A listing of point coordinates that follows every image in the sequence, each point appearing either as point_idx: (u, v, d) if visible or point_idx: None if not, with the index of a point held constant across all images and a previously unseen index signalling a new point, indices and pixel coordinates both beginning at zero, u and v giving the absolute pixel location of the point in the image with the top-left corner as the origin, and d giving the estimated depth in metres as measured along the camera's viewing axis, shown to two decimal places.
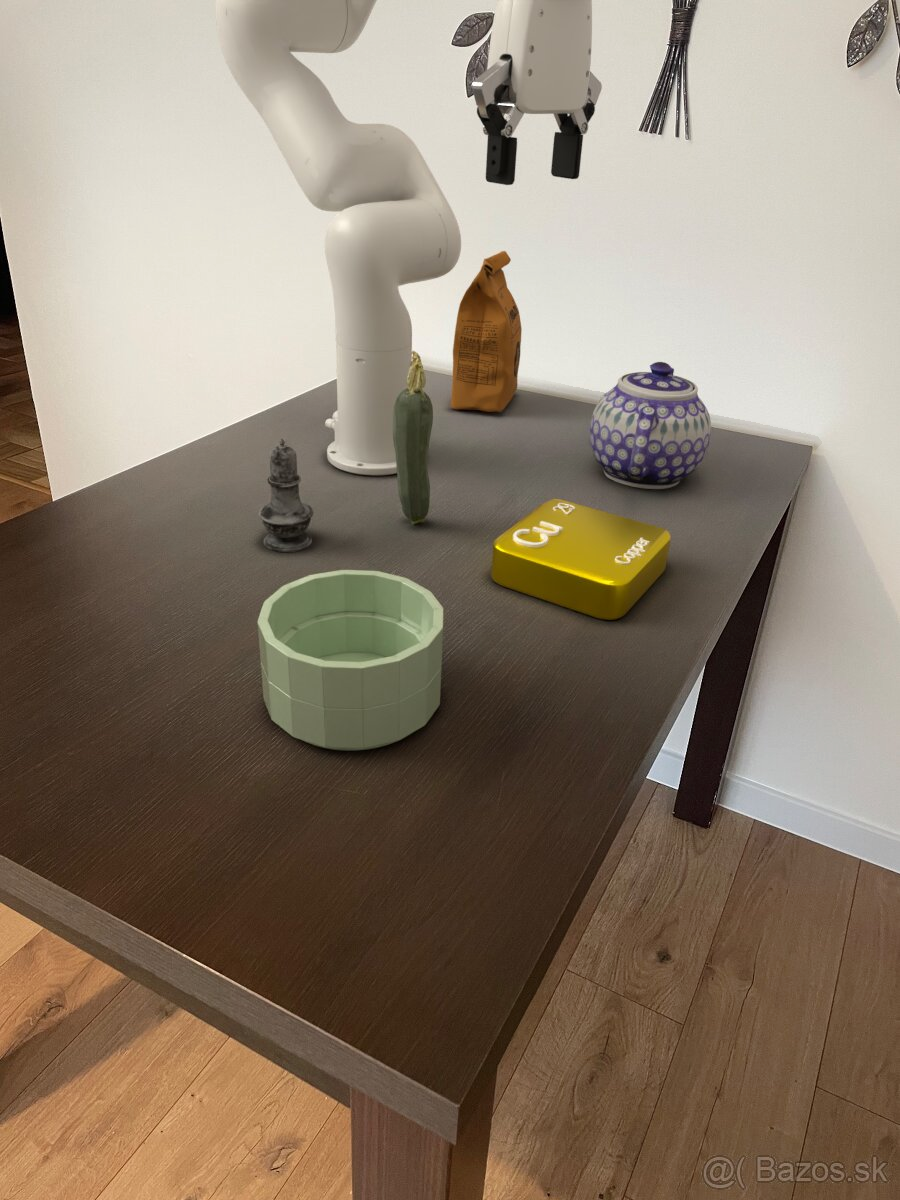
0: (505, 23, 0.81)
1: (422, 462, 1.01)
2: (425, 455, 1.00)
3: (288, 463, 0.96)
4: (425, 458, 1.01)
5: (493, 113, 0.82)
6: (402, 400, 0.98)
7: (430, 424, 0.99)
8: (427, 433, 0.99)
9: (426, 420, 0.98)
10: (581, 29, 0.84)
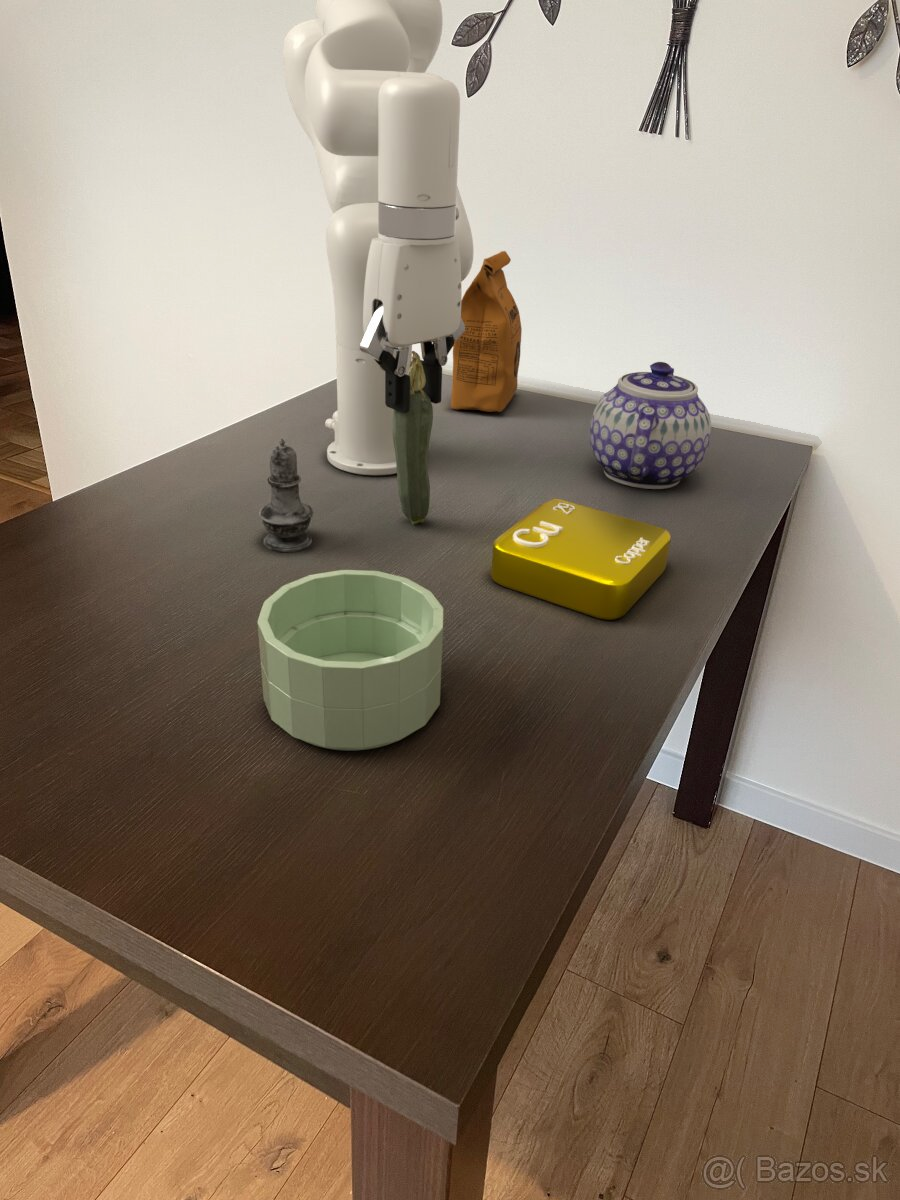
0: (375, 273, 0.89)
1: (422, 462, 1.01)
2: (425, 455, 1.00)
3: (288, 463, 0.96)
4: (425, 458, 1.01)
5: (386, 359, 0.92)
6: None
7: (430, 424, 0.99)
8: (427, 433, 0.99)
9: (426, 420, 0.98)
10: (448, 271, 0.92)
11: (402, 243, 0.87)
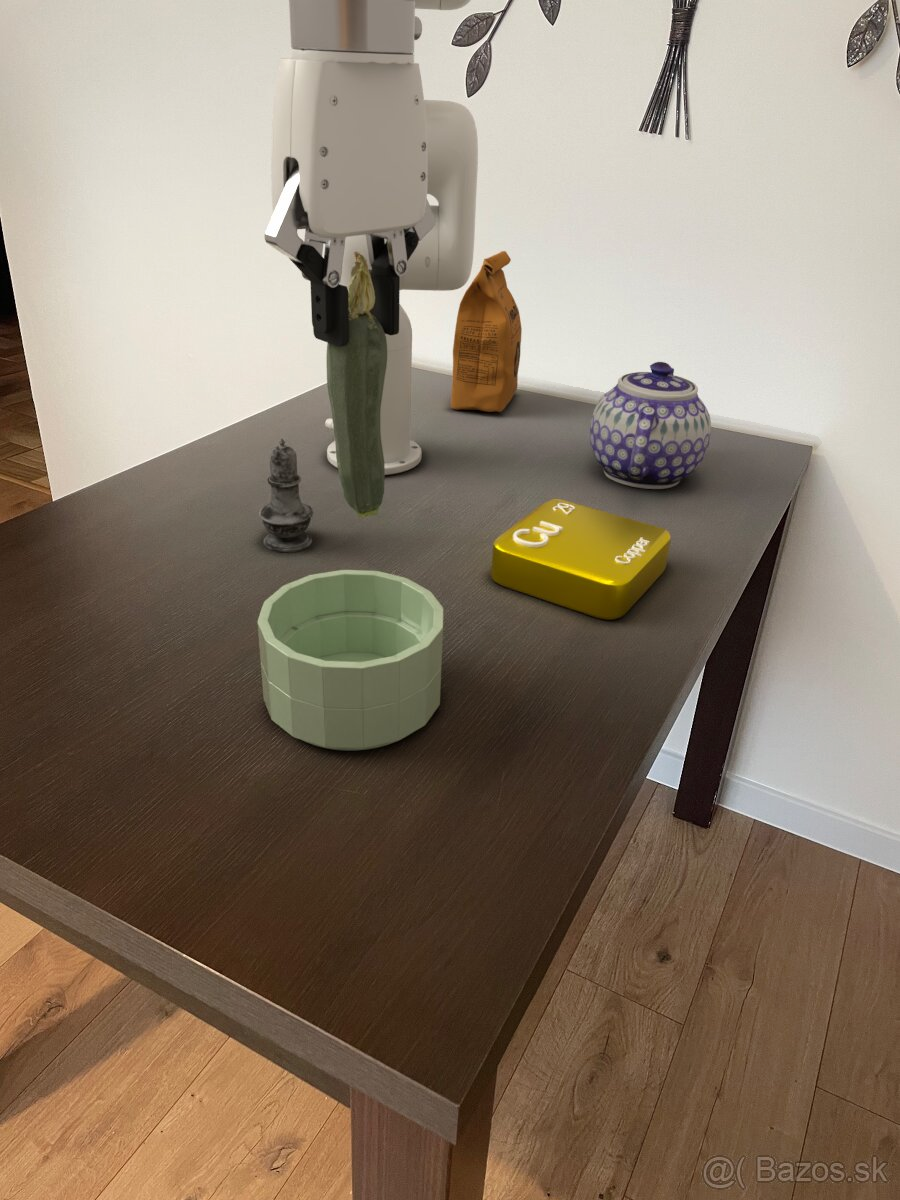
0: (286, 114, 0.55)
1: (372, 425, 0.67)
2: (375, 413, 0.67)
3: (288, 463, 0.96)
4: (376, 418, 0.67)
5: (307, 258, 0.59)
6: None
7: (382, 366, 0.66)
8: (378, 379, 0.66)
9: (375, 358, 0.65)
10: (405, 118, 0.58)
11: (326, 59, 0.54)
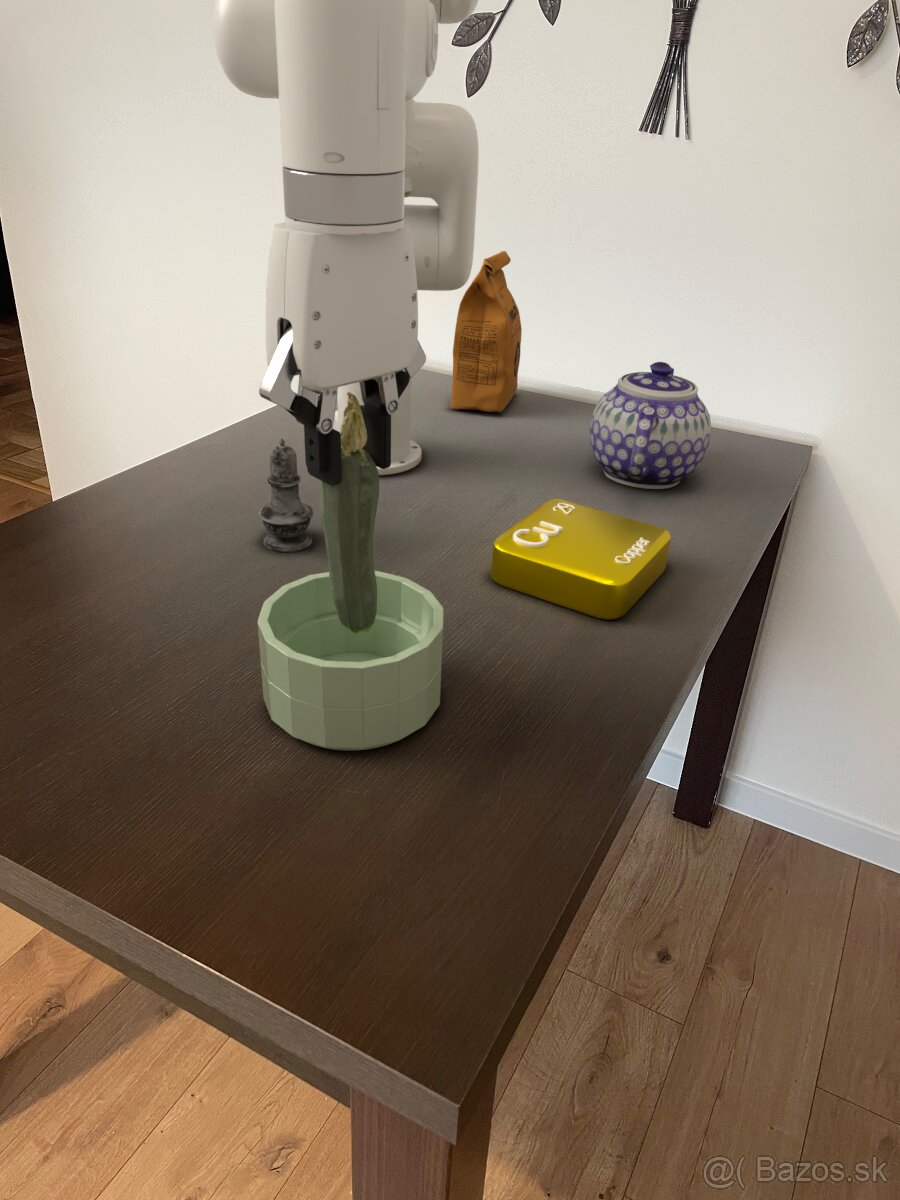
0: (279, 279, 0.57)
1: (364, 554, 0.69)
2: (368, 543, 0.69)
3: (288, 463, 0.96)
4: (368, 547, 0.69)
5: (301, 409, 0.61)
6: None
7: (374, 499, 0.67)
8: (370, 512, 0.67)
9: (367, 494, 0.66)
10: (396, 275, 0.60)
11: (318, 231, 0.55)
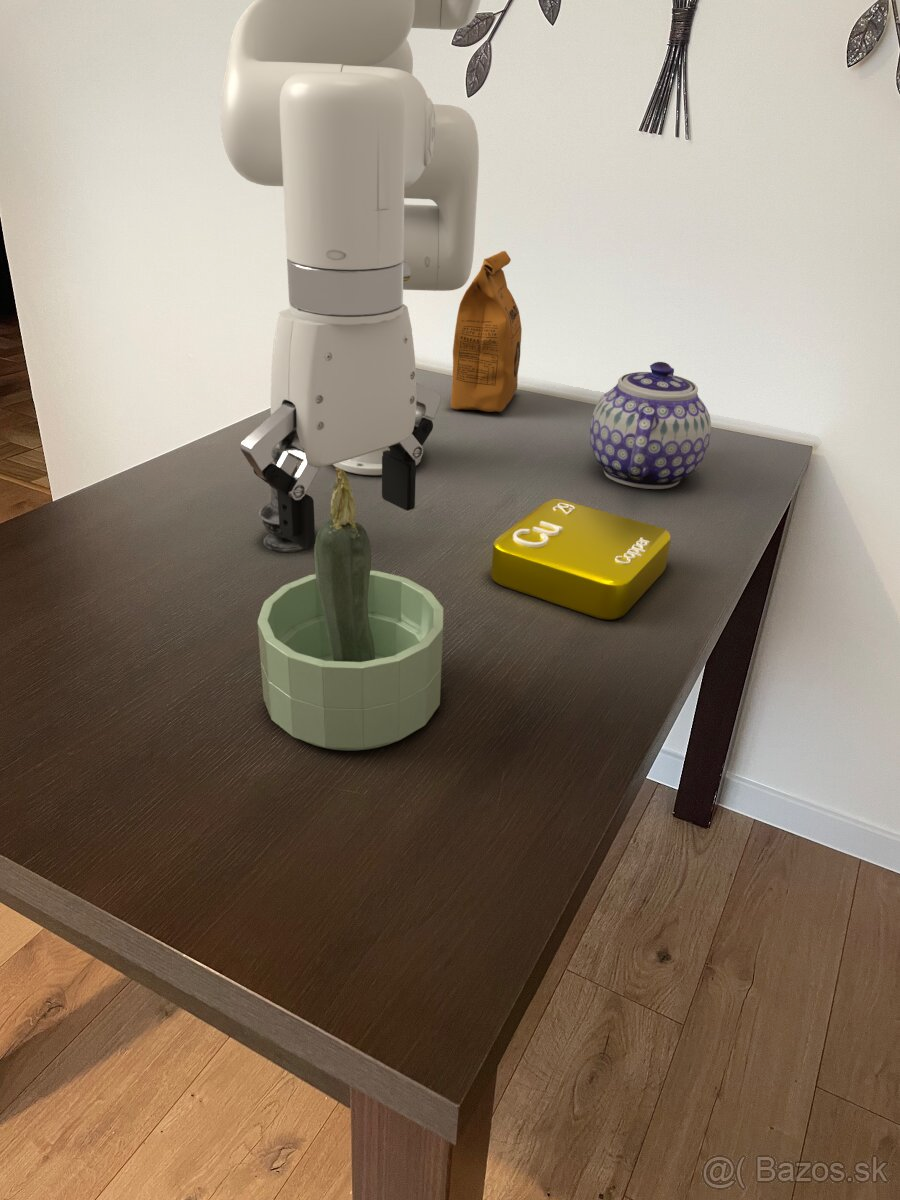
0: (284, 364, 0.60)
1: (359, 618, 0.71)
2: (362, 608, 0.71)
3: None
4: (363, 612, 0.71)
5: (273, 478, 0.61)
6: (325, 538, 0.68)
7: (367, 567, 0.70)
8: (363, 580, 0.70)
9: (360, 563, 0.69)
10: (395, 357, 0.63)
11: (321, 321, 0.58)
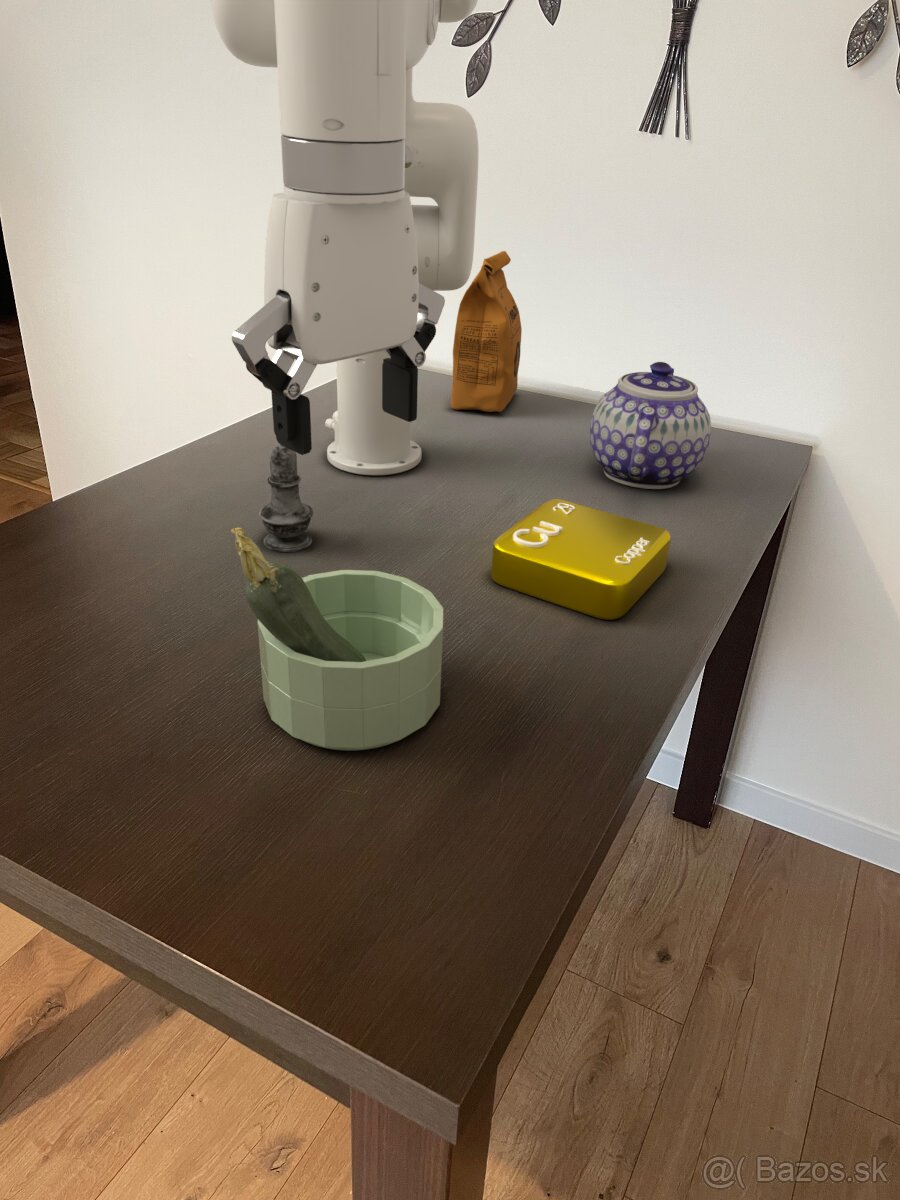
0: (278, 250, 0.56)
1: (320, 647, 0.70)
2: (319, 639, 0.69)
3: (288, 463, 0.96)
4: (321, 641, 0.70)
5: (266, 373, 0.58)
6: (249, 597, 0.66)
7: (304, 607, 0.67)
8: (305, 620, 0.68)
9: (293, 610, 0.66)
10: (396, 247, 0.59)
11: (317, 201, 0.55)
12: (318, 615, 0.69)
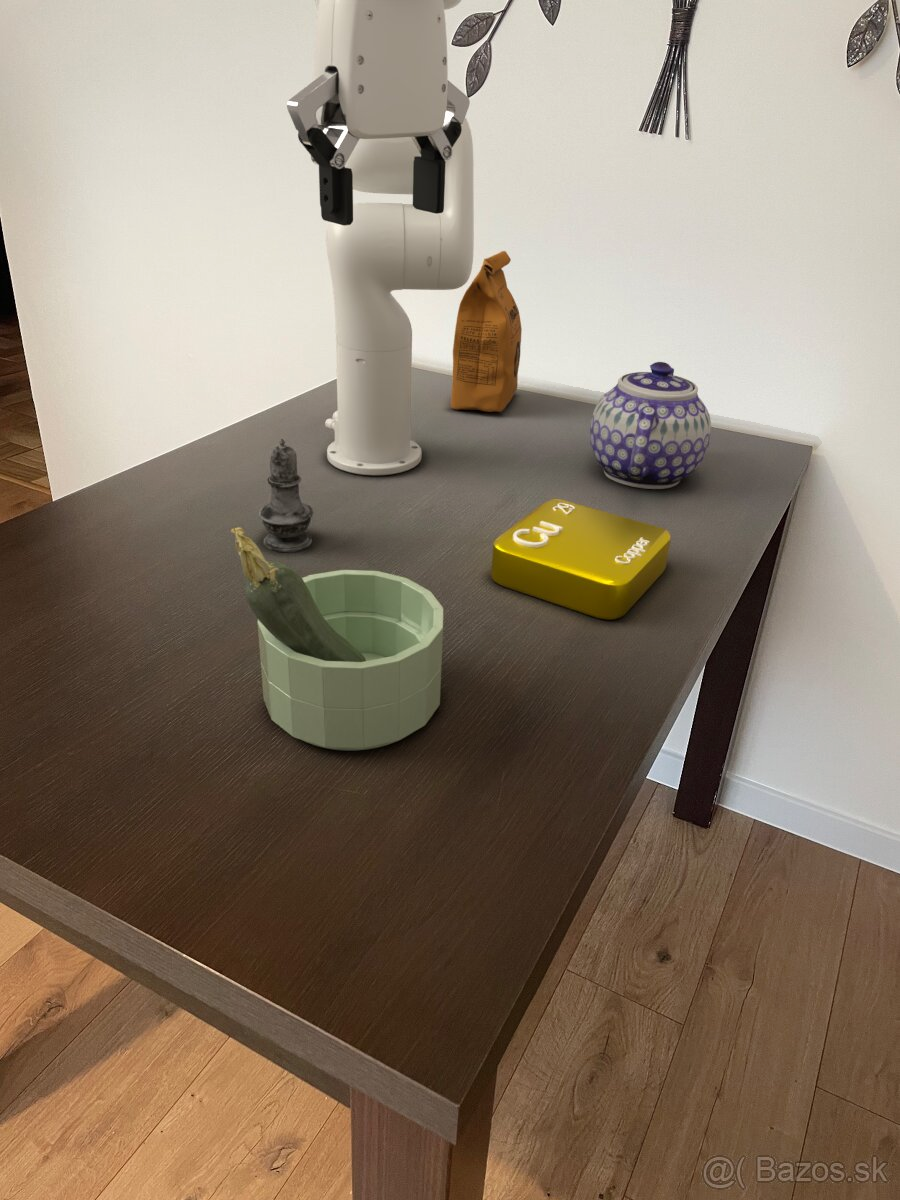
0: (328, 27, 0.65)
1: (320, 647, 0.70)
2: (319, 639, 0.69)
3: (288, 463, 0.96)
4: (321, 641, 0.70)
5: (316, 140, 0.66)
6: (249, 597, 0.66)
7: (304, 607, 0.67)
8: (305, 620, 0.68)
9: (293, 610, 0.66)
10: (429, 34, 0.68)
11: None
12: (318, 615, 0.69)
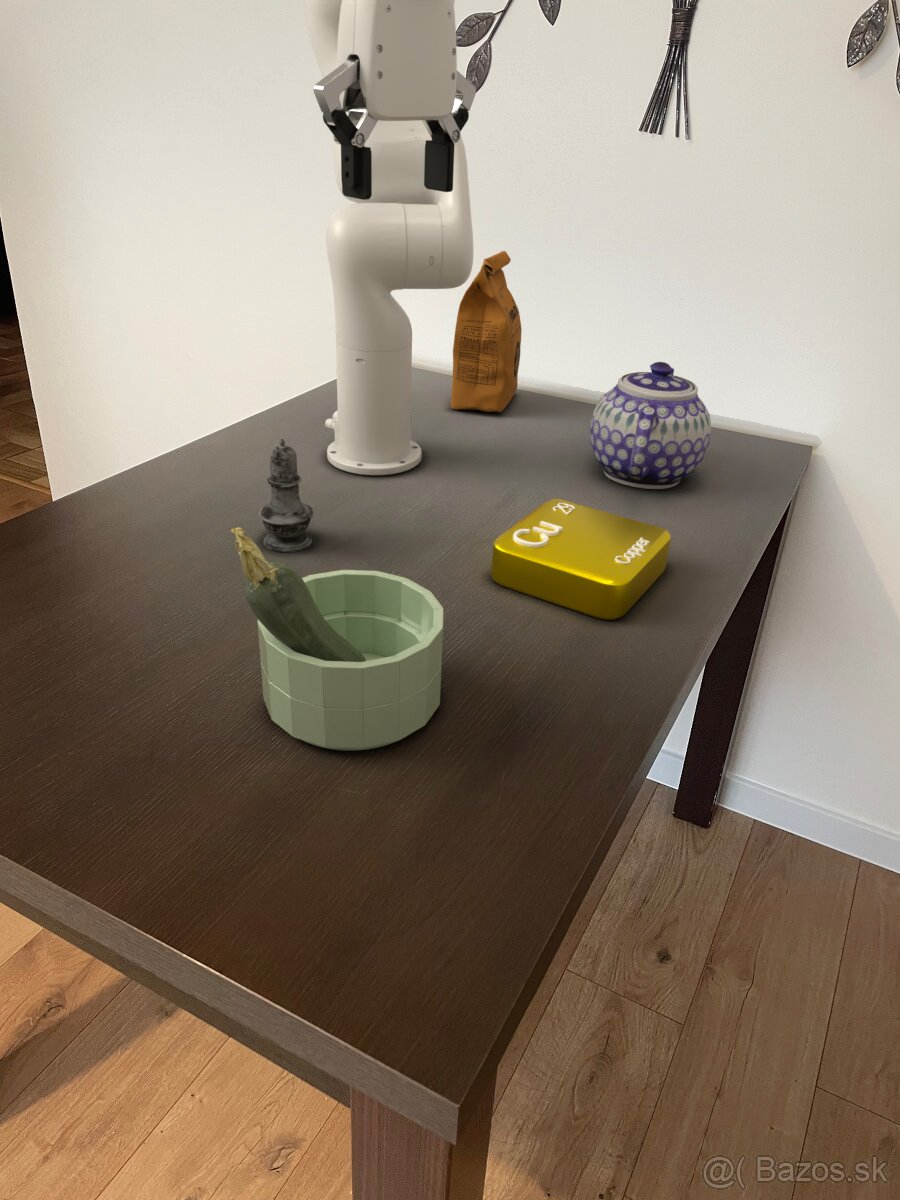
0: (350, 20, 0.72)
1: (320, 647, 0.70)
2: (319, 639, 0.69)
3: (288, 463, 0.96)
4: (321, 641, 0.70)
5: (339, 120, 0.74)
6: (249, 597, 0.66)
7: (304, 607, 0.67)
8: (305, 620, 0.68)
9: (293, 610, 0.66)
10: (441, 26, 0.75)
11: None
12: (318, 615, 0.69)
